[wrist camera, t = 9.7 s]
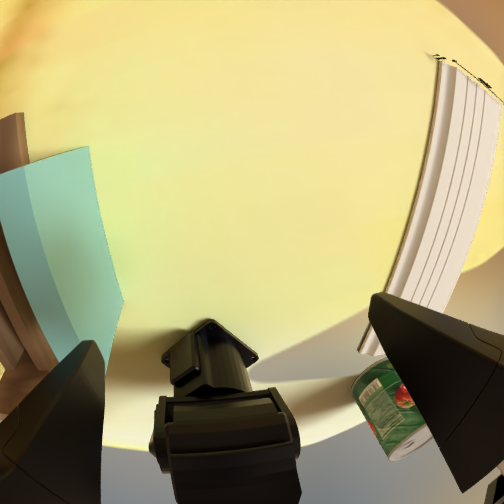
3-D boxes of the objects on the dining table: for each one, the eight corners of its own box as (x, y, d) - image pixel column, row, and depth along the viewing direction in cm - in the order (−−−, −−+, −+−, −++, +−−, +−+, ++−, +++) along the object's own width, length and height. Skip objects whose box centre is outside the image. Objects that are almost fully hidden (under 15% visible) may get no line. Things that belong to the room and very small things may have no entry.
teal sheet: (89, 146, 17) (23, 166, 9) (123, 300, 22) (103, 386, 14) (63, 152, 16) (-9, 177, 8) (101, 303, 22) (74, 386, 14)
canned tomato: (410, 349, 33) (458, 407, 23) (391, 389, 36) (429, 444, 26) (358, 364, 31) (405, 435, 21) (344, 404, 34) (379, 469, 24)
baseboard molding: (345, 350, 30) (418, 340, 33) (357, 367, 28) (430, 353, 31) (424, 53, 18) (491, 102, 22) (447, 51, 16) (510, 105, 19)
